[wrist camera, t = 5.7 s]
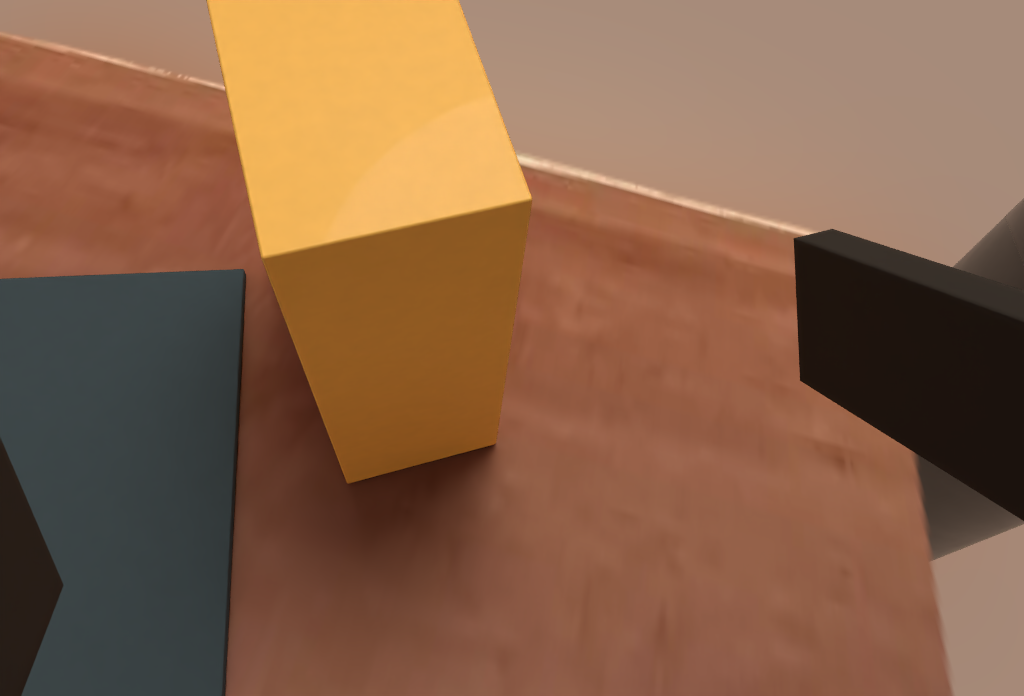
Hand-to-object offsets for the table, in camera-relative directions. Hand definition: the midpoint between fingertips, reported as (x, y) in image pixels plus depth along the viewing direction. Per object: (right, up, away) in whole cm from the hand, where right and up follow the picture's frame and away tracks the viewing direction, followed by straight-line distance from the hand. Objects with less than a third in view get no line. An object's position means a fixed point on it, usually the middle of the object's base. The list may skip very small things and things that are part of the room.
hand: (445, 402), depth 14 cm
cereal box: (-3, +1, +16) cm, 16 cm away
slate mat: (-14, -3, +13) cm, 19 cm away
